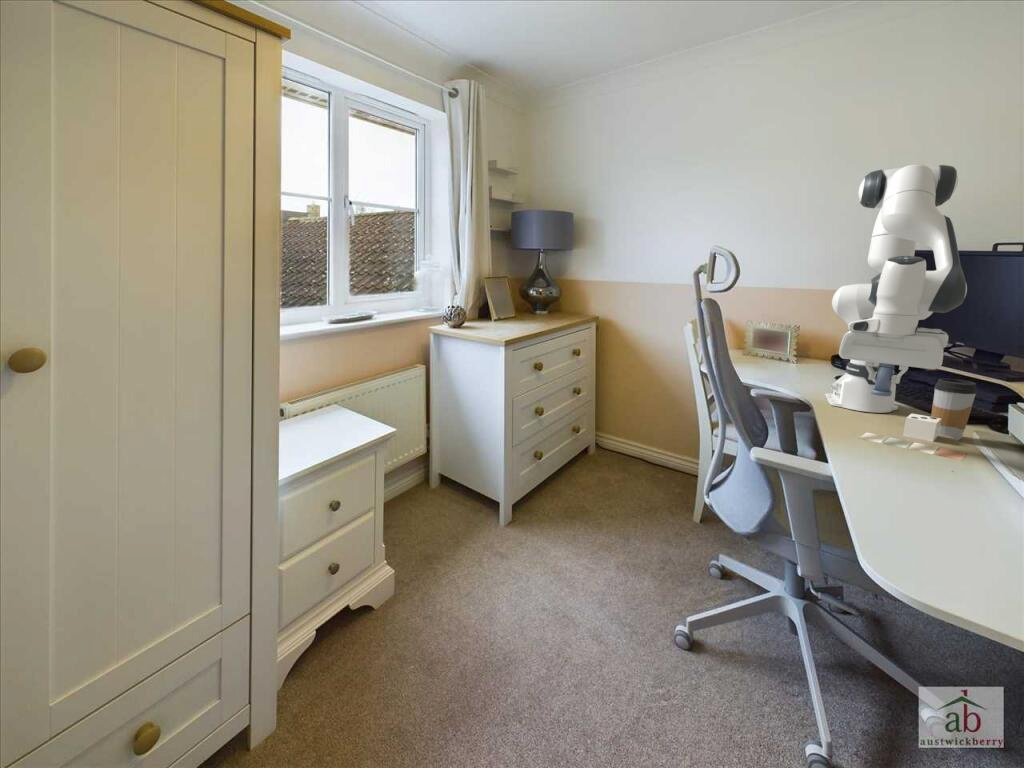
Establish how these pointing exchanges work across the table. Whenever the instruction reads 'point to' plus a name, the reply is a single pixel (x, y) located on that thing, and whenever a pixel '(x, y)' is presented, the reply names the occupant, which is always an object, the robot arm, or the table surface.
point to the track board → (914, 446)
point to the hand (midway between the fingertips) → (883, 381)
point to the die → (922, 427)
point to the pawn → (883, 380)
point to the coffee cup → (953, 405)
